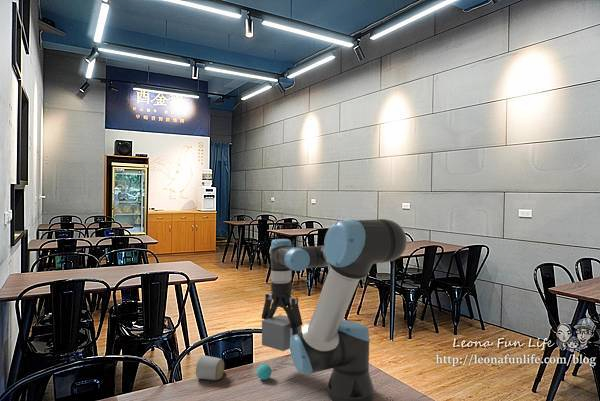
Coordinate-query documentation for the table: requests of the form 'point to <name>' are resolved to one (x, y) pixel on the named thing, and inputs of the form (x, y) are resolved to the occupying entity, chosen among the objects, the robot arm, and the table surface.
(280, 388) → the table surface
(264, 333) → the grey cube
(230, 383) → the table surface
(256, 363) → the table surface
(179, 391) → the table surface
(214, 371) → the ceramic mug
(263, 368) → the ball
